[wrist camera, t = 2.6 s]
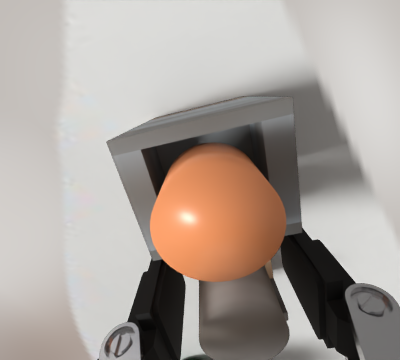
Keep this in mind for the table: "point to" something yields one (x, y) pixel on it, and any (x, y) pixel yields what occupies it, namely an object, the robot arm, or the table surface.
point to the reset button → (216, 215)
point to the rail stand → (212, 132)
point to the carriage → (241, 318)
